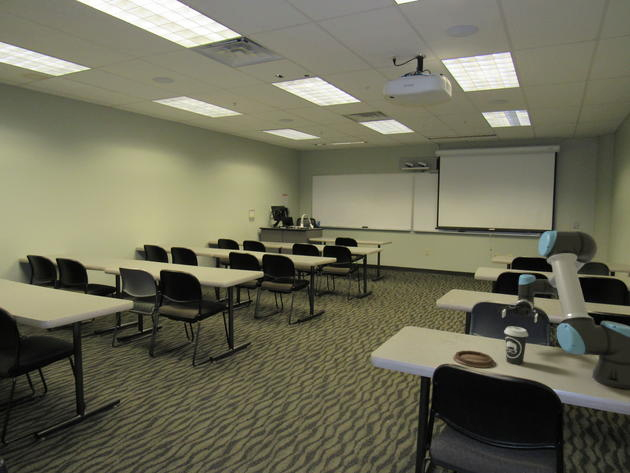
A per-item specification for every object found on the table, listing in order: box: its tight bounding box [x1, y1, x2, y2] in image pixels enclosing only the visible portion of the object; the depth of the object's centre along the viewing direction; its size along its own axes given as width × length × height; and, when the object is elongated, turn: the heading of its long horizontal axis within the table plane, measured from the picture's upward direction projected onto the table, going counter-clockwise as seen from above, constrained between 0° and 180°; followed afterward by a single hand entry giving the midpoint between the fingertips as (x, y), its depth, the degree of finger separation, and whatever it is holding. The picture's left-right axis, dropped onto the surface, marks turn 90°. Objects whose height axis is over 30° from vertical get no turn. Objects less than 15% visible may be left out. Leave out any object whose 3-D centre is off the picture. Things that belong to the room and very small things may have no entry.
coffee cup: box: [503, 326, 529, 366], centre depth 178 cm, size 10×10×15 cm
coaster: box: [453, 350, 495, 369], centre depth 179 cm, size 17×17×2 cm
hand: (518, 317), depth 186 cm, fingers open, 13 cm apart
